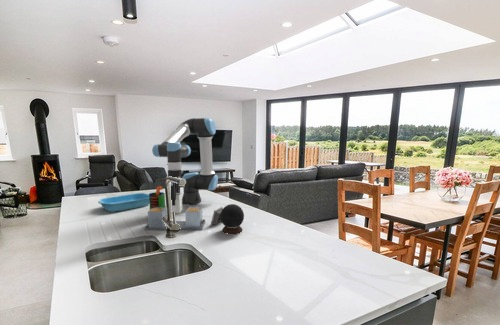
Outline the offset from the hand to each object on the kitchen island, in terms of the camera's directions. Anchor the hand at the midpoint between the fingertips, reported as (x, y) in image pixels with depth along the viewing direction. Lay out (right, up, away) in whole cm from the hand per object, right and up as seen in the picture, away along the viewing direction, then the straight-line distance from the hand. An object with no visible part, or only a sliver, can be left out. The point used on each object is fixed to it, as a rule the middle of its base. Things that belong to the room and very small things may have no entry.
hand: (175, 208), depth 152 cm
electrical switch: (+24, -10, +8) cm, 27 cm away
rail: (0, -10, +1) cm, 10 cm away
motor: (-16, -9, +17) cm, 25 cm away
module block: (0, -1, 0) cm, 1 cm away
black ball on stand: (+33, -11, -5) cm, 35 cm away
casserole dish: (-48, -6, +41) cm, 63 cm away
